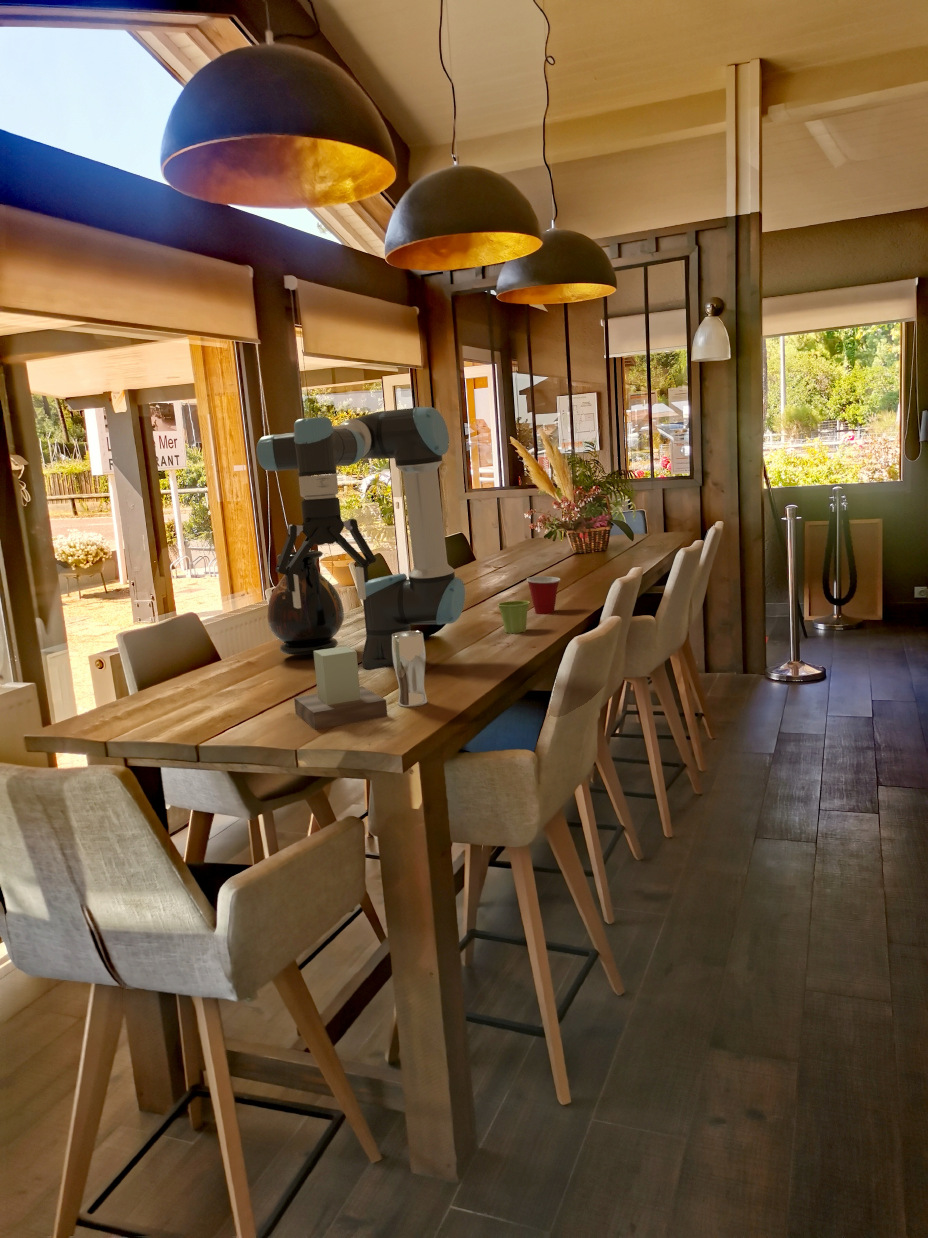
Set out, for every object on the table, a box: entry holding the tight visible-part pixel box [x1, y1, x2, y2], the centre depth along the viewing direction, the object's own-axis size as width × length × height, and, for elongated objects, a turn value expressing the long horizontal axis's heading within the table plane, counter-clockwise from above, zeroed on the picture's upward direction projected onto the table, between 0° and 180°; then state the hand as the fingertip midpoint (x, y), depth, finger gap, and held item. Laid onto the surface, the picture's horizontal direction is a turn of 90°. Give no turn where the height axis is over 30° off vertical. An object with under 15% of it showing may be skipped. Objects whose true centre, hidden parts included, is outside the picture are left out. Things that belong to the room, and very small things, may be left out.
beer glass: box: [392, 630, 428, 708], centre depth 196 cm, size 7×7×15 cm
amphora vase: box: [267, 550, 345, 656], centre depth 265 cm, size 22×22×28 cm
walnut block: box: [293, 685, 388, 730], centre depth 191 cm, size 15×15×4 cm
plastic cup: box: [526, 575, 561, 615], centre depth 298 cm, size 11×11×12 cm
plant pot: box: [497, 600, 531, 634], centre depth 271 cm, size 9×9×9 cm
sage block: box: [313, 646, 361, 705], centre depth 190 cm, size 7×7×10 cm
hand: (330, 603), depth 188 cm, fingers open, 13 cm apart
